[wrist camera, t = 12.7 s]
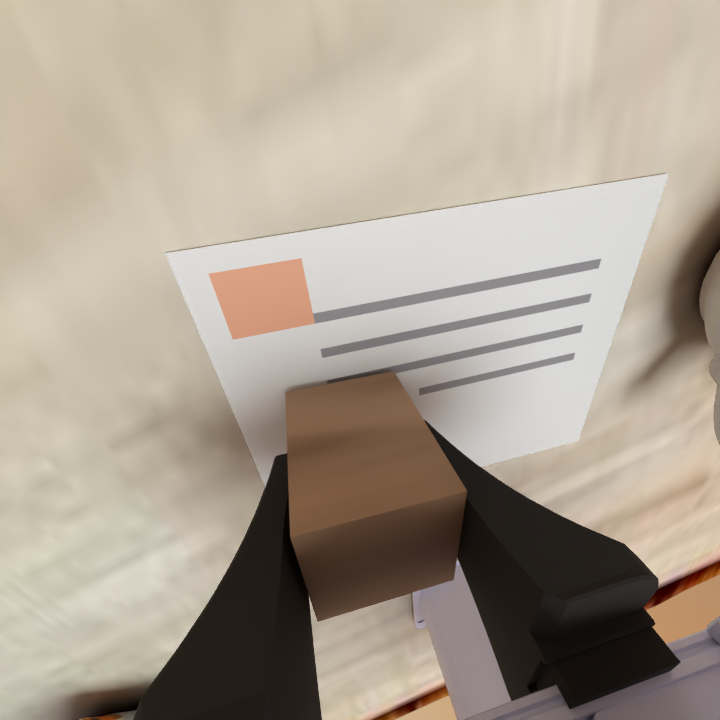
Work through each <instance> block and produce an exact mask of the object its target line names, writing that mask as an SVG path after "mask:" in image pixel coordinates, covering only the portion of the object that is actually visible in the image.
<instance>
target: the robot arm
mask: <svg viewBox="0 0 720 720" xmlns="http://www.w3.org/2000/svg"><path fill="white" fill-rule="evenodd" d="M424 421H425V423H426V425H427V426H428V428H429V429H430V431H431V433H432V434H433V436H434V438H435V439H436V441H437V442H438V444H439V446H440V447H441V449H442V451H443V452H444V454H445V456H446V457H447V459H448V460H449V462H450V464H451V465H452V467H453V469H454V470H455V472H456V473H457V475H458V477H459V478H460V480H461V482H462V483H463V485H464V487H465V488H466V490H467V496H466V502H465V509H464V516H463V522H462V529H461V536H460V542H459V549H458V555H457V562H456V569H455V575H454V580H452V581H449V582H445V583H442V584H439V585H436V586H432V587H429V588H426V589H422V590H419V591H416V592H413V593H412V601H413V616H414V625H415V628H416V629H421V628H424V627H427V628H428V631H429V634H430V637H431V640H432V643H433V647H434V650H435V653H436V656H437V659H438V662H439V665H440V668H441V671H442V674H443V677H444V681H445V684H446V687H447V690H448V693H449V696H450V699H451V702H452V705H453V708H454V711H455V714H456V717H457V720H720V616H719V617H718V618H716V619H715V620H713V621H712V622H711V623H710V624H709V625H708V626H707V629H705V630H703V631H700V632H697V633H695V634H692V635H689V636H687V637H684V638H681V639H678V640H676V641H673V642H670V643H668V644H665V642H664V641H663V640H662V639H661V637H660V636H659V635H658V634H657V633H656V631H655V630H654V629H653V628H652V626H654V625H655V622H654V620H653V619H652V618H651V616H650V615H649V614H648V613H647V612H646V610H645V609H644V608H643V607H644V606H645V605H646V603H647V602H648V601H649V600H650V598H651V597H652V596H653V595H654V593H655V592H656V590H657V588H658V578H657V577H656V576H655V575H654V574H653V573H652V572H651V571H650V570H649V569H648V567H647V566H646V565H645V564H644V563H643V562H642V561H641V560H640V559H639V558H638V557H637V556H636V555H635V554H634V553H633V552H632V551H631V550H630V549H629V548H628V547H627V546H626V545H625V544H623V543H621V542H619V541H616V540H614V539H611V538H609V537H607V536H604V535H602V534H600V533H597V532H595V531H592V530H590V529H588V528H585V527H583V526H581V525H579V524H577V523H575V522H573V521H571V520H568V519H566V518H564V517H562V516H560V515H558V514H556V513H554V512H553V511H551V510H549V509H547V508H545V507H543V506H541V505H540V504H538V503H536V502H534V501H532V500H530V499H528V498H527V497H525V496H523V495H522V494H520V493H518V492H517V491H515V490H514V489H512V488H510V487H509V486H507V485H506V484H504V483H503V482H501V481H500V480H498V479H497V478H495V477H494V476H492V475H491V474H489V473H488V472H487V471H485V470H484V469H483V468H481V467H480V466H478V465H477V464H476V463H475V462H473V461H472V460H471V459H469V458H468V457H467V456H466V455H464V454H463V453H462V452H461V451H460V450H458V449H457V448H456V447H455V446H454V445H452V444H451V443H450V442H449V441H448V440H447V439H445V438H444V437H443V436H442V435H441V434H440V433H439V432H438V431H437V430H436V429H434V428H433V427H432V426H431V425H430V424H429V423H428V422H427V421H426V420H424ZM133 720H322V717H321V709H320V700H319V692H318V683H317V674H316V665H315V656H314V646H313V636H312V626H311V616H310V605H309V594H308V590H307V587H306V584H305V581H304V578H303V575H302V572H301V569H300V566H299V563H298V560H297V557H296V554H295V550H294V547H293V544H292V541H291V538H290V518H289V489H288V460H287V453H286V454H281V455H277V456H276V457H275V458H274V461H273V465H272V468H271V472H270V475H269V478H268V481H267V484H266V487H265V490H264V492H263V495H262V497H261V500H260V502H259V505H258V508H257V510H256V513H255V515H254V517H253V519H252V522H251V524H250V526H249V528H248V530H247V533H246V535H245V537H244V539H243V541H242V543H241V545H240V547H239V549H238V551H237V553H236V555H235V557H234V559H233V561H232V563H231V564H230V566H229V568H228V570H227V572H226V573H225V575H224V577H223V579H222V580H221V582H220V584H219V585H218V587H217V589H216V591H215V592H214V594H213V596H212V597H211V599H210V600H209V602H208V604H207V605H206V607H205V608H204V610H203V611H202V613H201V614H200V616H199V617H198V619H197V620H196V622H195V623H194V625H193V626H192V628H191V629H190V631H189V632H188V634H187V635H186V637H185V638H184V640H183V641H182V643H181V644H180V646H179V647H178V649H177V650H176V651H175V653H174V654H173V655H172V657H171V658H170V660H169V661H168V662H167V664H166V665H165V666H164V668H163V669H162V670H161V672H160V673H159V674H158V676H157V677H156V678H155V680H154V681H153V683H152V684H151V685H150V687H149V688H148V689H147V691H146V692H145V693H144V695H143V696H142V697H141V699H140V702H139V705H138V708H137V711H136V713H135V716H134V719H133Z"/></svg>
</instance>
